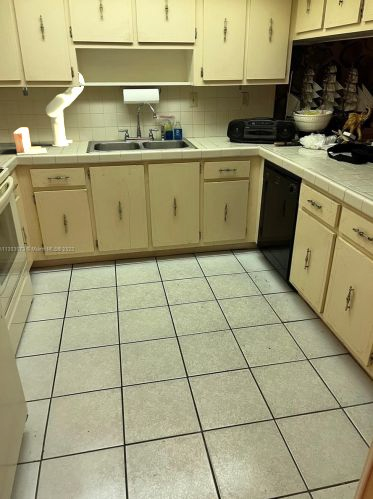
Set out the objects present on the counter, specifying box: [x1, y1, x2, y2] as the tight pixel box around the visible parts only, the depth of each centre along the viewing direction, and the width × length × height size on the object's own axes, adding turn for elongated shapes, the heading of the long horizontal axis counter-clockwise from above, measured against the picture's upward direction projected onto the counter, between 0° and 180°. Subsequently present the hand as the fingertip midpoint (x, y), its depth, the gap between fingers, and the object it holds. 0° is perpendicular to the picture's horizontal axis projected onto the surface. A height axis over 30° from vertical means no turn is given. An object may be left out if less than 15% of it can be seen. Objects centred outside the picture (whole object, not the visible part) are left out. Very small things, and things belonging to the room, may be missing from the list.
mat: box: [16, 146, 48, 156], centre depth 270 cm, size 20×25×2 cm
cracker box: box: [12, 127, 32, 154], centre depth 269 cm, size 14×6×21 cm
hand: (25, 95), depth 282 cm, fingers closed
